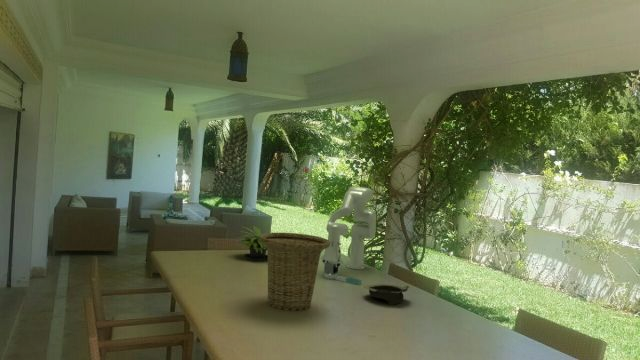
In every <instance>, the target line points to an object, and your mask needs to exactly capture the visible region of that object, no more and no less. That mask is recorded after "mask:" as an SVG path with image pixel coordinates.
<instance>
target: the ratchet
mask: <svg viewBox="0 0 640 360" xmlns="http://www.w3.org/2000/svg"><path fill="white" fill-rule="evenodd" d="M323 273H324V272H323ZM323 278H324V279H326V280H332V279H333V280H336V281H340V282H343V281H344V283H347V284H352V285H356V286H360V285H362V279H359V278H355V277H346V276H342V275H338V272H337V273H336V274H333V275H332V274H328V273H324V274H323Z"/></svg>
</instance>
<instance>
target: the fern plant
mask: <svg viewBox="0 0 640 360" xmlns="http://www.w3.org/2000/svg"><path fill="white" fill-rule="evenodd" d="M252 226H253V227H252V228H253V230H251V229H250V228H248V227H245V226H243V228H244V229H247V230H248V231H249V232H247V234H246V231H243V233H244V234H245V235H241V236H240V238H241V240H239V238H237V237H234V238H237V239H236V242H235V241H234V243H236V244H237V243H238V244H237V245H236V247H238V246H239V247H240V246H242V247H241V250H242V249H244V248H246V252H248V251H249V253H246V254H244V257H243V258H244V259H245V260H247V261H251V262H258V263H259V262H260V263H261V262H268V254H267V251H268V250H267V246H266V245H265V244H264V243H262V242H261V241H260V236H261V235H262V233H261V230H260V229H261V228H259V227H257V226H255V225H252ZM239 232H240V233H242V230H241V231H240V230H239ZM250 232H251V233H250ZM254 232H255V233H254ZM252 233H253V234H252Z"/></svg>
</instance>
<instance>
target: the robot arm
mask: <svg viewBox="0 0 640 360" xmlns="http://www.w3.org/2000/svg"><path fill="white" fill-rule="evenodd" d="M373 193H374V192H373V190H372V189H371V187H370V188H369V187H362V186H355V185H354V186H350V187H348V189H347V190H346V192H345V194H344V197H343V199H342V201H341V202H342V203H341V205H340V207H339V209H338V208H337V210H336V211H334V212H333V213H331V215H330V216H329V219H328V220H327V224H326V232H327V233H328V234H327V235H328V236H327V240H329V241H330V246H329V247H328V248H326V249H324V254H323V255H322V256H320V260H321V261H322V263H323V265H324V268H325V263H327V262H334V263H335V268H334V273H337V274H338V272H339V267H340V266H341V265H342V264H343V263H344V261H343V259H342V258H341V257H342V249H341V246H342V243H341V242H340V240H341V236H347V234H349V232H350V235H351V241H350V251H349V262H348V264H347V265H346V268H349V269H351V270H364V269H365V266H364V264H365V261H364V254H365V253H364V252H365V242H364V239H368V240H369V239H370V240H371V239H374V238H375V235H376V229H377V227H376V226H377V215H376V212H375V211H373V210H371V209H367V208H366V207H367V206H366V205H367V204H366V203H368V202H370V201H371V200H372V198H373ZM352 214H353V221H354V222H356V223H354V224H352V225H351V227H350V229H349V226H348V224H345V223H341V222H336V221H337V220H338V219H340V218H344V217H348V216H350V215H352ZM349 230H350V231H349Z"/></svg>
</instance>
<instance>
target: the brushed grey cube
mask: <svg viewBox="0 0 640 360" xmlns="http://www.w3.org/2000/svg"><path fill="white" fill-rule="evenodd" d="M324 267H325V268H324V269H323V273H328V274H332V275H333V274H336V273H334V268H335V263H334V262H327V263H325V265H324Z"/></svg>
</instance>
